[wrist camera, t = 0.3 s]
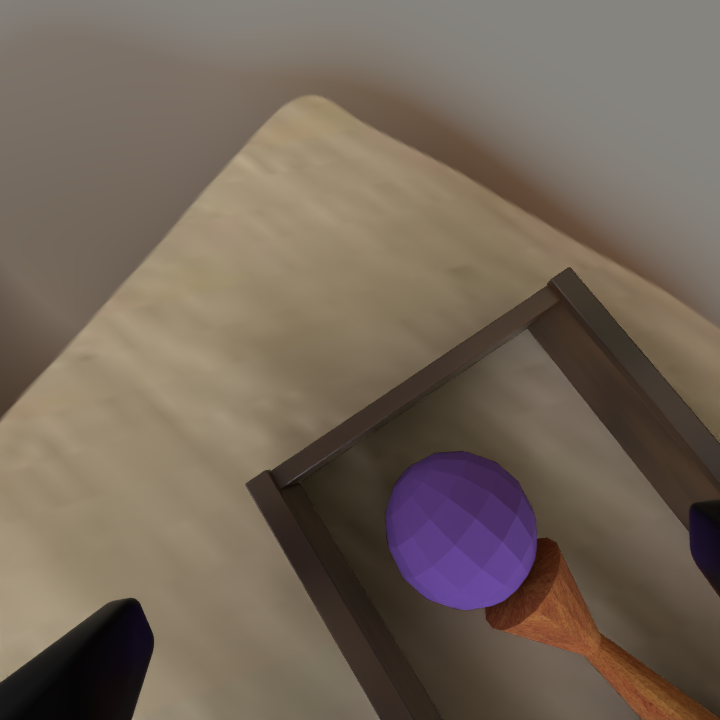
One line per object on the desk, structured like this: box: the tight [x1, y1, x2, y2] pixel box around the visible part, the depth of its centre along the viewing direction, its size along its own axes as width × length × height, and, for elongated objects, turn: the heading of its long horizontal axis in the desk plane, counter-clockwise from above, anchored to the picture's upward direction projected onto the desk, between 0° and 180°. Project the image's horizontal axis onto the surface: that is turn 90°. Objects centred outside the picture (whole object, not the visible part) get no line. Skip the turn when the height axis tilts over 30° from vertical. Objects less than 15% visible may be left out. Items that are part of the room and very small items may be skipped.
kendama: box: [385, 451, 720, 720], centre depth 17 cm, size 6×6×20 cm
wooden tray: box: [245, 267, 720, 720], centre depth 17 cm, size 26×16×5 cm, turn 34°
